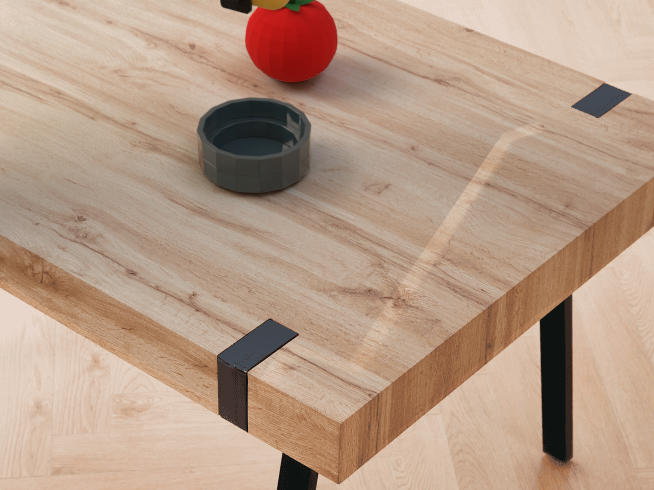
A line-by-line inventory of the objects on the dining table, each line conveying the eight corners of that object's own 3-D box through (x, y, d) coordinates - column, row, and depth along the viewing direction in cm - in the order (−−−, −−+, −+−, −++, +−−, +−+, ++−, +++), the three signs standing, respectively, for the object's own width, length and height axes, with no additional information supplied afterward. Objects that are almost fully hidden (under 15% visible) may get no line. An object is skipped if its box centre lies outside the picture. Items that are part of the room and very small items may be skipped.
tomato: (353, 86, 122) (356, 5, 116) (269, 107, 118) (267, 24, 112) (312, 45, 129) (312, -34, 122) (231, 63, 125) (227, -17, 118)
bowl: (179, 177, 108) (175, 139, 105) (235, 123, 116) (233, 87, 113) (278, 209, 105) (277, 171, 102) (328, 151, 112) (329, 114, 110)
